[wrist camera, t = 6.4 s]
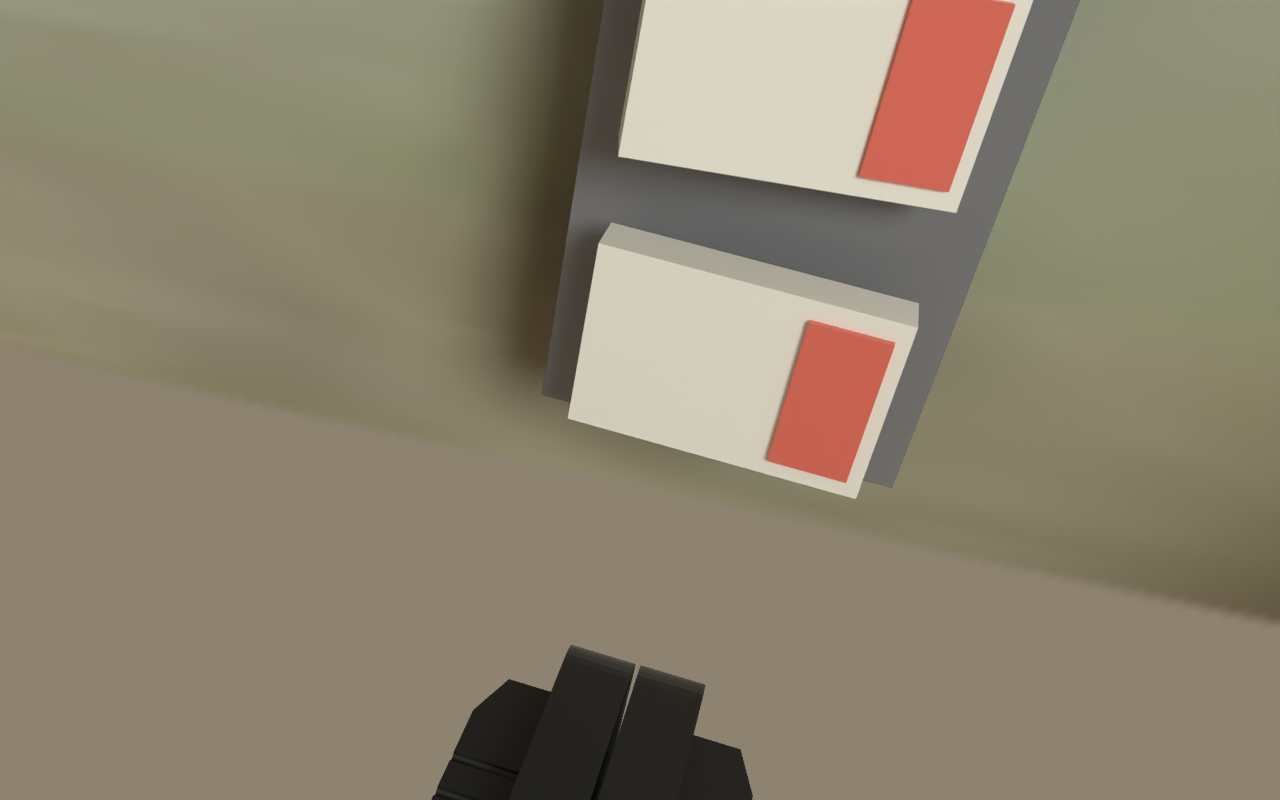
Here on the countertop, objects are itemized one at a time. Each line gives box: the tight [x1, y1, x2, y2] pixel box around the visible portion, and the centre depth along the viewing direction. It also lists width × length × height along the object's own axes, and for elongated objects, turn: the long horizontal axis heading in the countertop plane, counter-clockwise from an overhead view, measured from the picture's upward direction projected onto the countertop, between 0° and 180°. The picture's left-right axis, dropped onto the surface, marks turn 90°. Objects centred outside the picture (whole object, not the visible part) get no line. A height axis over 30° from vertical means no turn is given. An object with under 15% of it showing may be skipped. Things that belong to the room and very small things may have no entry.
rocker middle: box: [618, 0, 1033, 213], centre depth 19 cm, size 6×4×1 cm, turn 80°
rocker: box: [568, 222, 919, 499], centre depth 22 cm, size 6×4×1 cm, turn 79°
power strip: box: [542, 0, 1080, 488], centre depth 22 cm, size 8×18×5 cm, turn 169°
